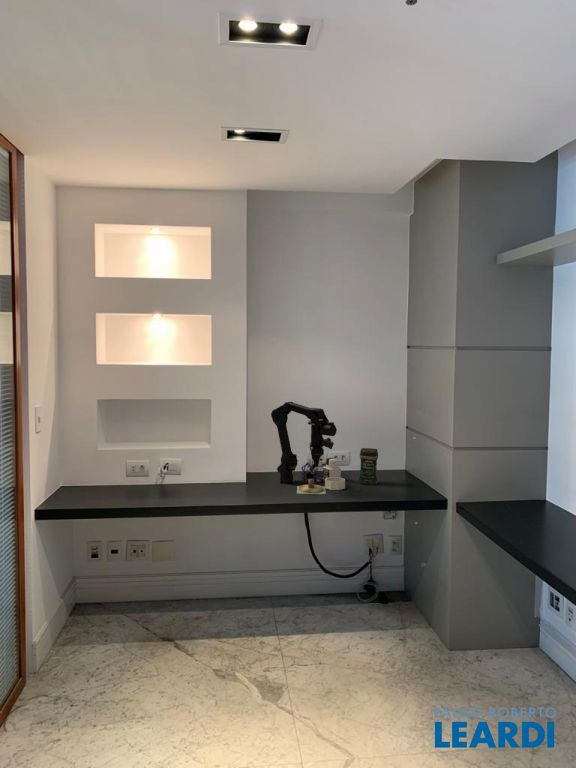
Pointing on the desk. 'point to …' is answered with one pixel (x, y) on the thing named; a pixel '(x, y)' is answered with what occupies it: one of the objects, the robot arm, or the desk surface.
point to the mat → (311, 493)
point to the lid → (311, 487)
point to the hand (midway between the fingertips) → (316, 464)
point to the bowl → (335, 483)
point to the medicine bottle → (331, 468)
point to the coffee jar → (368, 466)
